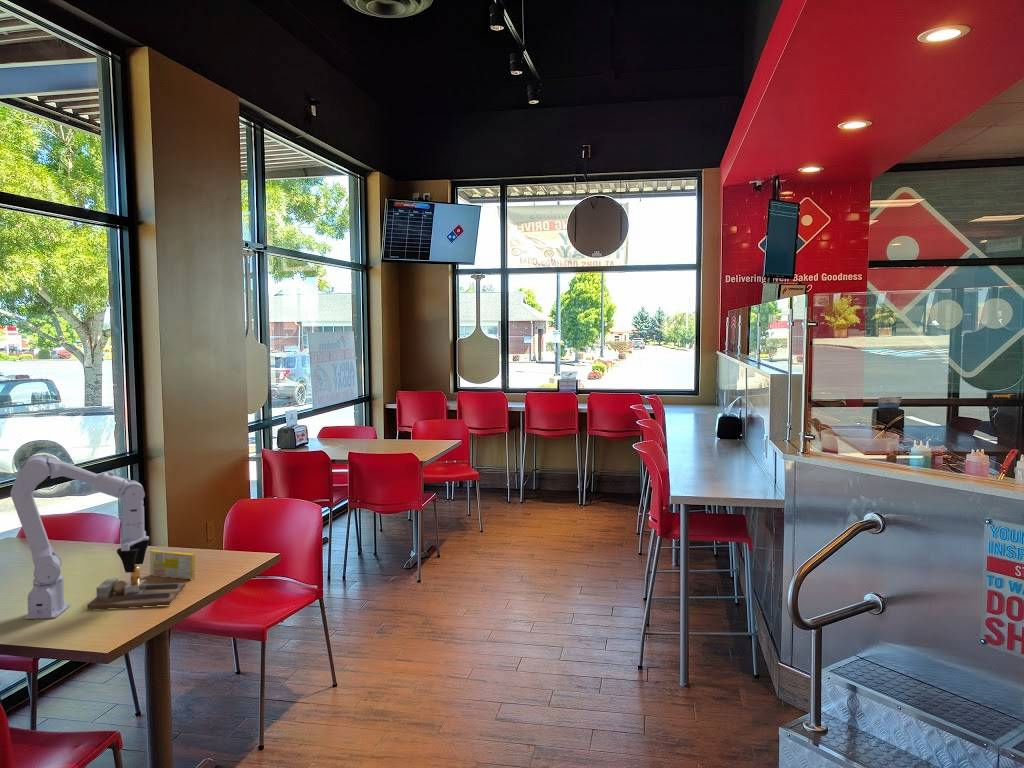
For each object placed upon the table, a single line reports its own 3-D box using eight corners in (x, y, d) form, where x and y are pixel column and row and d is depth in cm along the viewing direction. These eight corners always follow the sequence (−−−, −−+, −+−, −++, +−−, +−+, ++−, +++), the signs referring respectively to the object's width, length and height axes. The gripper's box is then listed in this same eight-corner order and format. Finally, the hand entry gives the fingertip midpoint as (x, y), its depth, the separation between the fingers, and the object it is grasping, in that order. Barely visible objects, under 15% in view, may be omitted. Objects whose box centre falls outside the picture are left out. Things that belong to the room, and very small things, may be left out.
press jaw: (139, 595, 214) (138, 569, 214) (124, 596, 213) (123, 570, 213) (146, 588, 220) (145, 563, 219) (131, 589, 219) (131, 563, 219)
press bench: (169, 606, 211) (168, 589, 210) (87, 610, 207) (86, 592, 207) (185, 587, 227) (185, 571, 226) (109, 590, 223) (109, 574, 223)
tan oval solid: (126, 594, 214) (123, 581, 214) (112, 597, 214) (109, 584, 214) (131, 590, 218) (128, 577, 218) (117, 593, 218) (114, 580, 218)
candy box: (196, 578, 235) (195, 553, 235) (191, 580, 233) (191, 555, 233) (154, 573, 240) (153, 549, 239) (149, 575, 237) (148, 550, 237)
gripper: (139, 528, 209) (140, 575, 210) (156, 516, 223) (156, 560, 224) (112, 529, 208) (113, 576, 209) (131, 516, 222) (132, 560, 223)
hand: (134, 568), depth 216 cm, fingers open, 7 cm apart
